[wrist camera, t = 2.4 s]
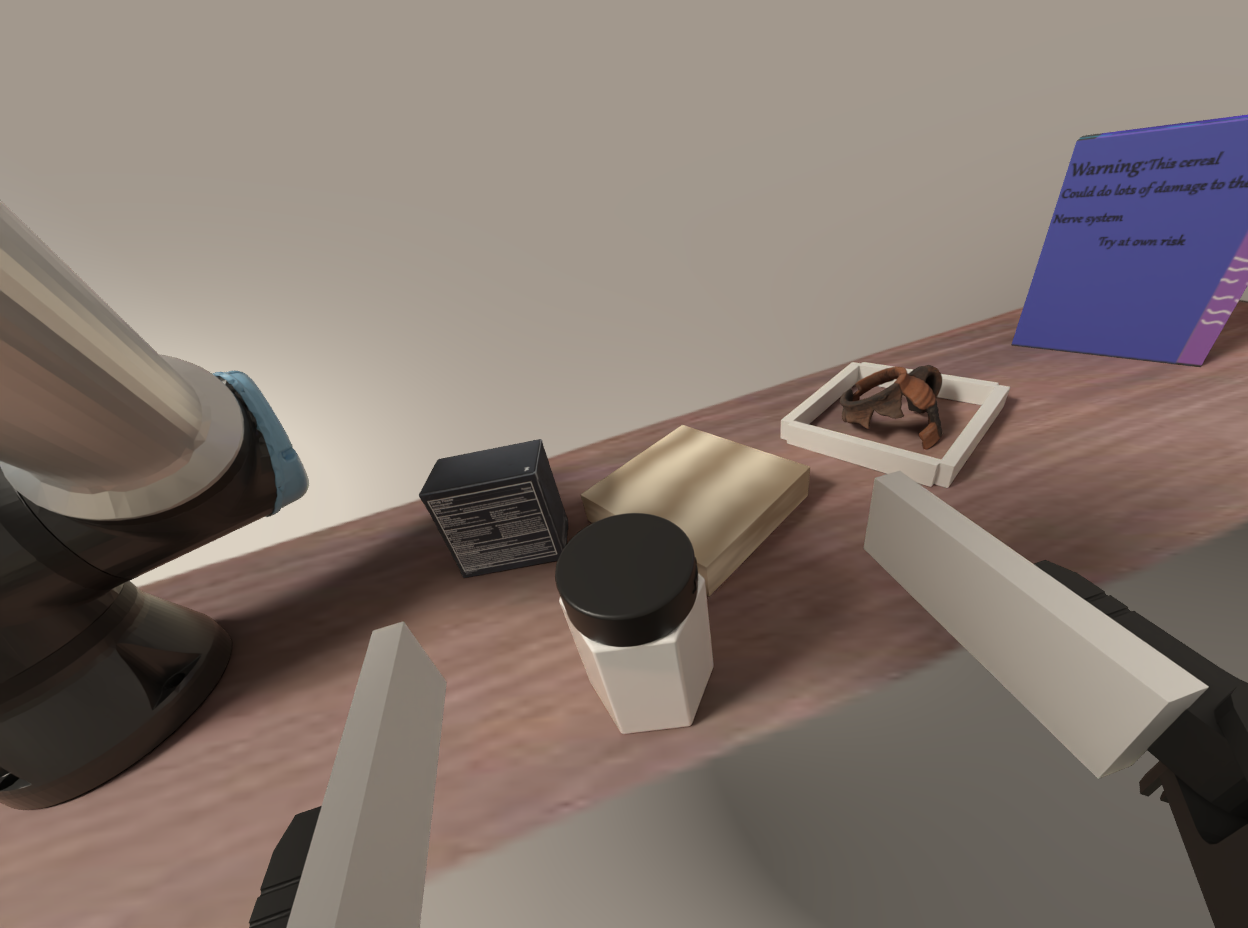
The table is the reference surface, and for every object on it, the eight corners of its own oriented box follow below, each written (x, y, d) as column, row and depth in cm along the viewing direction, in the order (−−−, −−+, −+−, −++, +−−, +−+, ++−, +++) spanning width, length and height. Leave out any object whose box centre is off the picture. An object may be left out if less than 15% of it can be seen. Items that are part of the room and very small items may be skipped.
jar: (738, 689, 30) (732, 567, 24) (639, 768, 27) (600, 654, 21) (661, 604, 37) (639, 491, 31) (575, 661, 34) (530, 549, 28)
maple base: (587, 520, 48) (580, 494, 46) (685, 449, 56) (682, 424, 54) (709, 596, 37) (706, 567, 35) (808, 495, 45) (810, 466, 43)
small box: (569, 517, 49) (543, 434, 43) (568, 560, 43) (538, 473, 37) (474, 534, 49) (436, 455, 43) (461, 580, 44) (415, 496, 38)
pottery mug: (920, 469, 46) (884, 404, 44) (847, 466, 55) (814, 412, 53) (984, 399, 49) (953, 336, 47) (905, 407, 58) (876, 354, 56)
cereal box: (1204, 352, 54) (1349, 99, 41) (1200, 367, 52) (1352, 103, 38) (1021, 333, 66) (1087, 133, 52) (1011, 345, 63) (1077, 138, 50)
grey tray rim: (777, 440, 54) (778, 422, 52) (852, 377, 64) (854, 360, 62) (945, 491, 42) (951, 470, 41) (1005, 404, 52) (1011, 384, 51)
